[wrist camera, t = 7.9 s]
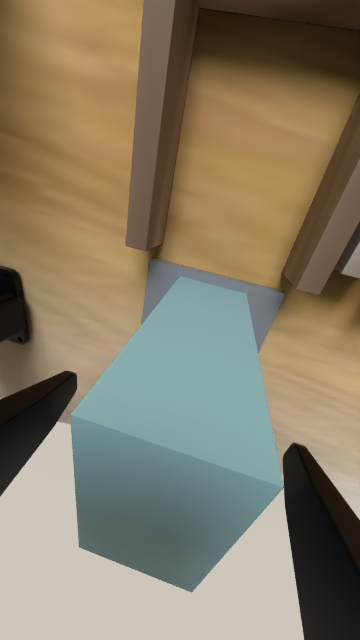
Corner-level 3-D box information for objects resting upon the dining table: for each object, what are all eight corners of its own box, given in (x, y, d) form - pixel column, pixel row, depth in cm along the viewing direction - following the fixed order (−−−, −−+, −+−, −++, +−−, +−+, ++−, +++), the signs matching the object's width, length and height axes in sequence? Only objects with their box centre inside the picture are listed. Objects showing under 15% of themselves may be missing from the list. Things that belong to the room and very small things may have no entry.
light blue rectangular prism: (161, 365, 16) (79, 547, 7) (180, 276, 13) (70, 414, 4) (213, 381, 16) (191, 592, 7) (246, 293, 12) (283, 487, 4)
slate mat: (139, 358, 17) (136, 363, 17) (152, 257, 13) (149, 259, 13) (238, 388, 16) (238, 394, 16) (283, 291, 13) (285, 294, 12)
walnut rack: (147, 239, 13) (125, 246, 10) (180, -38, 8) (155, -158, 5) (384, 298, 12) (429, 323, 9) (587, 12, 7) (808, -111, 4)
